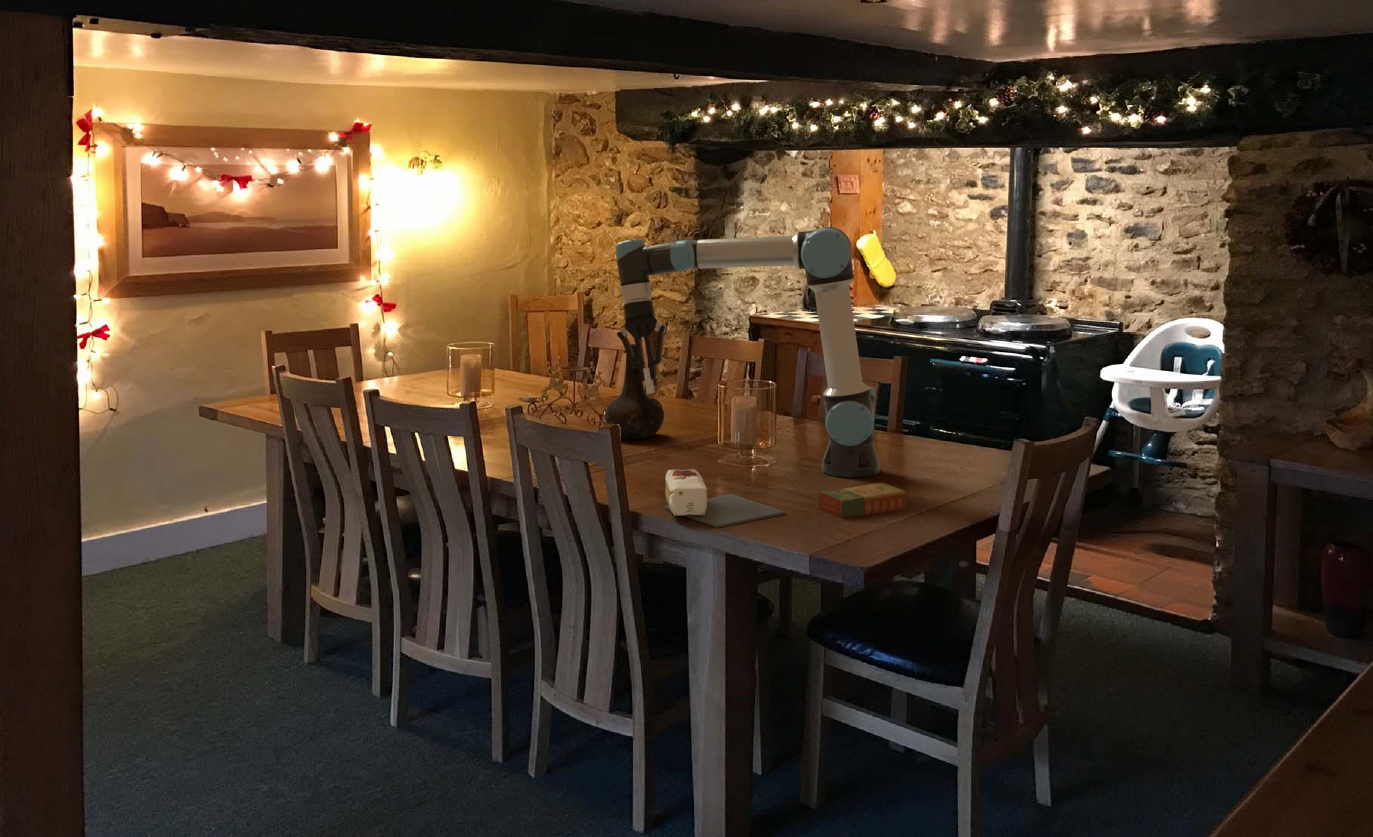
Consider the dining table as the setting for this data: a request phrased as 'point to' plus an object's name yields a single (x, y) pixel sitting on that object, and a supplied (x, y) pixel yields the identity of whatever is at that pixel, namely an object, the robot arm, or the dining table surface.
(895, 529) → the dining table surface
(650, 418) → the glass bottle
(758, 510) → the mat
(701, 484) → the juice carton
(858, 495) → the carton
